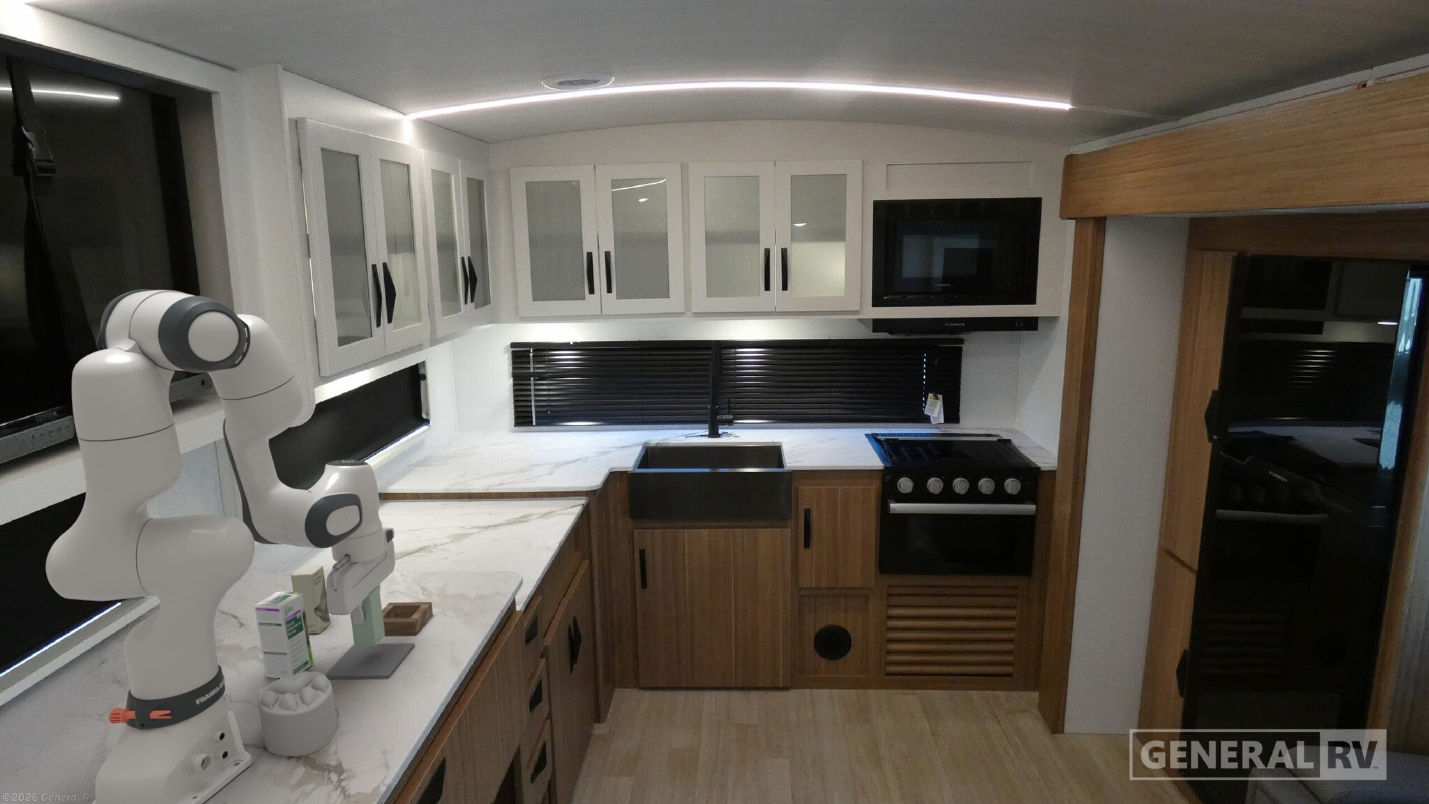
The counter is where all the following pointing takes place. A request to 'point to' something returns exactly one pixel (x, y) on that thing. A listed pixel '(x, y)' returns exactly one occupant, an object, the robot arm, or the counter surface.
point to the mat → (370, 661)
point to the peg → (370, 621)
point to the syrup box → (284, 634)
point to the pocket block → (406, 617)
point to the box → (312, 596)
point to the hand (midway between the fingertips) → (366, 615)
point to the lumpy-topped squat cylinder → (297, 714)
